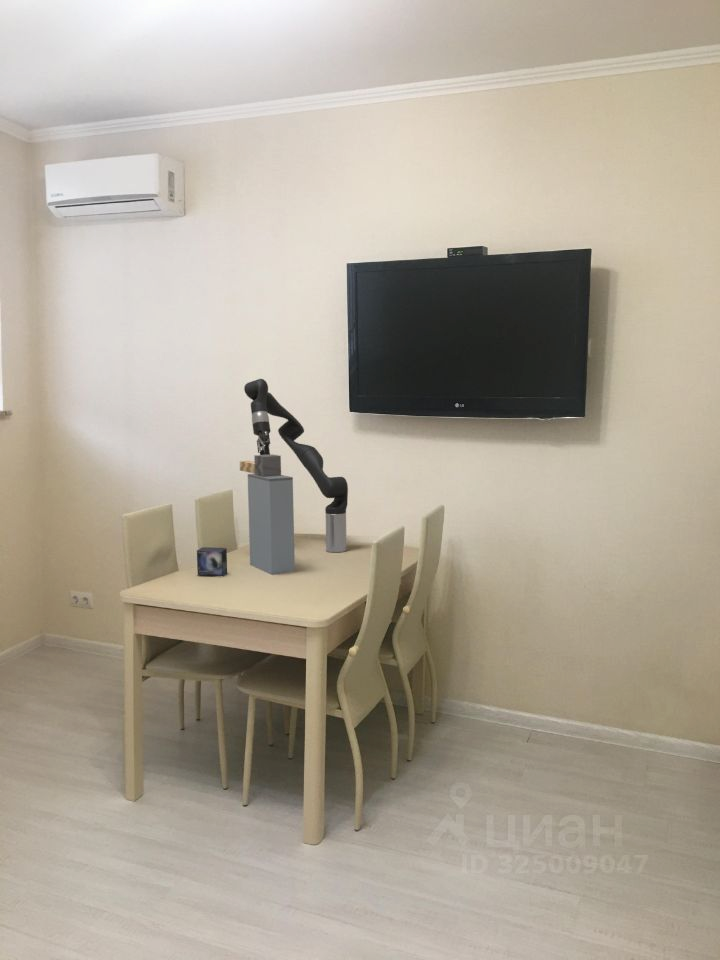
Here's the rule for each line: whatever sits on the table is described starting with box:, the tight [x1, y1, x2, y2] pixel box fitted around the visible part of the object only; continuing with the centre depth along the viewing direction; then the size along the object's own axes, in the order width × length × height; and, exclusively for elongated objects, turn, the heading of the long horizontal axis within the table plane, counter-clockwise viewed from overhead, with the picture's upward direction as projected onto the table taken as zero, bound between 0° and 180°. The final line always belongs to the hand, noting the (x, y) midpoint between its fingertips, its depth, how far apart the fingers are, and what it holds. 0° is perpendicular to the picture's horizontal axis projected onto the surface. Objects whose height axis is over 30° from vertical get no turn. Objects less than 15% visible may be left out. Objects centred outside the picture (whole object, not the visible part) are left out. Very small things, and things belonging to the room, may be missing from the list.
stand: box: [247, 473, 296, 576], centre depth 331 cm, size 22×10×38 cm, turn 30°
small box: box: [196, 546, 228, 577], centre depth 322 cm, size 11×6×10 cm, turn 80°
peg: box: [239, 453, 282, 477], centre depth 339 cm, size 29×8×8 cm, turn 30°
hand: (265, 458), depth 358 cm, fingers open, 8 cm apart
